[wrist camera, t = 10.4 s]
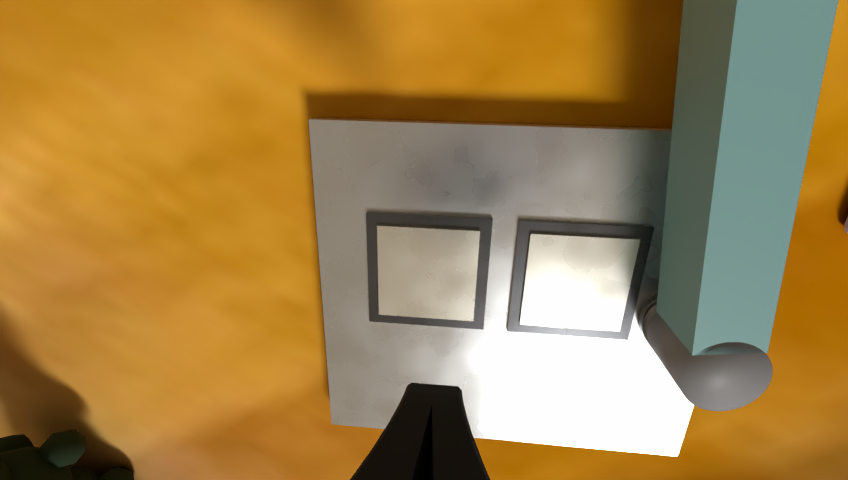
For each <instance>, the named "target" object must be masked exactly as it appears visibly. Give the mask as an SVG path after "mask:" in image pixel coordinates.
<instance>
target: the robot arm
mask: <svg viewBox="0 0 848 480" xmlns="http://www.w3.org/2000/svg"><path fill="white" fill-rule="evenodd" d="M844 229H845V231H846V232H847V233H848V217H847V219H846V222H845V226H844ZM350 480H490V478H489V476H488V474H487V471H486V469H485V466H484V464H483V462H482V459H481V456H480V454H479V451H478V448H477V446H476V443H475V440H474V438H473V435H472V432H471V429H470V425H469V422H468V418H467V415H466V411H465V407H464V402H463V396H462V390H461V389H460V388H459V387H458V386H448V385H436V384H423V383H410V384H409V385H407V387H406V390H405V392H404V394H403V397H402V399H401V401H400V403H399V405H398V407H397V409H396V411H395V412H394V414H393V416H392V418H391V419H390V421H389V423H388V425H387V426H386V428H385V429H384V431H383V433H382V434H381V436H380V437H379V439H378V441H377V442H376V444H375V445H374V447H373V448H372V450H371V451H370V453H369V454H368V456H367V457H366V458H365V460H364V461H363V463H362V464H361V465H360V467H359V468H358V470H357V471H356V472H355V474H354V475H353V476H352V478H351V479H350Z"/></svg>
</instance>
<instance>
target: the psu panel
mask: <svg viewBox="0 0 848 480" xmlns="http://www.w3.org/2000/svg"><path fill="white" fill-rule="evenodd" d="M308 120H309V133H310V146H311V159H312V172H313V185H314V198H315V212H316V225H317V238H318V251H319V264H320V277H321V290H322V303H323V317H324V330H325V343H326V356H327V369H328V382H329V395H330V408H331V422H332V424H336V425H347V426H358V427H368V428H379V429H385V428H386V426H387V425H388V423H389V421H390V419H391V418H392V416H393V414H394V412H395V411H396V409H397V407H398V405H399V403H400V401H401V399H402V397H403V394H404V392H405V390H406V387H407V385H409V384H410V383H423V384H436V385H448V386H458V387H459V388H460V389H461V390H462V396H463V402H464V407H465V411H466V415H467V418H468V422H469V425H470V429H471V432H472V435H473V437H475V438H486V439H497V440H507V441H518V442H529V443H540V444H550V445H561V446H572V447H582V448H593V449H604V450H615V451H625V452H636V453H647V454H657V455H668V456H678V453H679V450H680V447H681V444H682V441H683V438H684V435H685V432H686V429H687V425H688V422H689V419H690V416H691V413H692V410H693V407H694V404H692V403H691V402H690V401H688V400H687V399H686V397H685V396H684V395H683V393H682V392H681V390H680V389H679V387H678V386H677V384H676V383H675V381H674V380H673V378H672V377H671V376H670V374H669V373H668V371H667V370H666V368H665V367H664V365H663V364H662V362H661V361H660V359H659V358H658V356H657V355H656V354H655V352H654V351H653V349H652V348H651V346H650V344H649V342H648V339H647V329H648V325H649V323H650V321H651V319H652V318H653V316H654V315H655V314H656V313H657V311H656V308H657V297H658V285H659V274H660V262H661V251H662V239H663V228H664V216H665V205H666V193H667V182H668V170H669V159H670V147H671V136H672V128H645V127H613V126H582V125H550V124H518V123H486V122H454V121H423V120H391V119H359V118H327V117H315V118H312V119H308Z"/></svg>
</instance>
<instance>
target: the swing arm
mask: <svg viewBox="0 0 848 480" xmlns="http://www.w3.org/2000/svg"><path fill="white" fill-rule="evenodd" d="M837 4H838V0H683V9H682V21H681V32H680V44H679V55H678V67H677V78H676V90H675V101H674V113H673V124H672V136H671V147H670V159H669V170H668V182H667V193H666V205H665V216H664V228H663V239H662V251H661V262H660V274H659V285H658V297H657V308H656V311H657V313H656V314H655V315H654V316H653V318H652V319H651V321H650V323H649V325H648V329H647V339H648V342H649V344H650V346H651V348H652V349H653V351H654V352H655V354H656V355H657V356H658V358H659V359H660V361H661V362H662V364H663V365H664V367H665V368H666V370H667V371H668V373H669V374H670V376H671V377H672V378H673V380H674V381H675V383H676V384H677V386H678V387H679V389H680V390H681V392H682V393H683V395H684V396H685V397H686V399H687V400H688V401H690V402H691V403H692V404H694V405H695V406H697V407H700V408H702V409H706V410H711V411H727V410H733V409H736V408H740V407H742V406H745V405H747V404H749V403H751V402H752V401H754V400H755V399H757V398H758V397H759V396H760V395H761V394H762V393H763V392H764V391H765V390H766V388H767V387H768V385H769V383H770V381H771V378H772V372H773V370H772V364H771V361H770V359H769V357H768V356H767V355H766V354H765V353H767V352H768V347H769V342H770V337H771V332H772V327H773V322H774V317H775V313H776V308H777V303H778V298H779V293H780V288H781V283H782V278H783V273H784V268H785V263H786V258H787V253H788V248H789V243H790V238H791V233H792V228H793V223H794V218H795V213H796V208H797V203H798V198H799V193H800V188H801V183H802V178H803V173H804V168H805V163H806V158H807V153H808V148H809V143H810V138H811V134H812V129H813V124H814V119H815V114H816V109H817V104H818V99H819V94H820V89H821V84H822V79H823V74H824V69H825V64H826V59H827V54H828V49H829V44H830V39H831V34H832V29H833V24H834V19H835V14H836V9H837Z"/></svg>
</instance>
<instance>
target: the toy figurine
mask: <svg viewBox="0 0 848 480" xmlns="http://www.w3.org/2000/svg"><path fill="white" fill-rule="evenodd" d="M85 449H86V447H85V437H84V436H83V435H82V434H80V433H79V432H78V431H76V430H68V431H63V432H58V433H53V434H52V435H51V436H50V437H49V438H48V439H47V441H46V442H45V443H44V444H43V445H42V446H41V447H40V448H38V447H34V446H33V444H32V442H31V441H30V440H29V438H28V437H26V436H25V435H12V436H7V437H3V438H0V480H134V477H133V474H132V473H131V472H130V471H129V470H127V469H124V468H121V467H117V468H113V469H110V470H108V471H107V472H106V473H104V474H103V475H102V476H100V477H99V476H98V475H97V474H95V473H93V472H91V471H88V470H86V469H83V468H81V467H74V466H69V465H71V464H74V463H76V462H77V460H78V459H79V458H80V456H81V455H82V454H83V452H84V451H85Z"/></svg>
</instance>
